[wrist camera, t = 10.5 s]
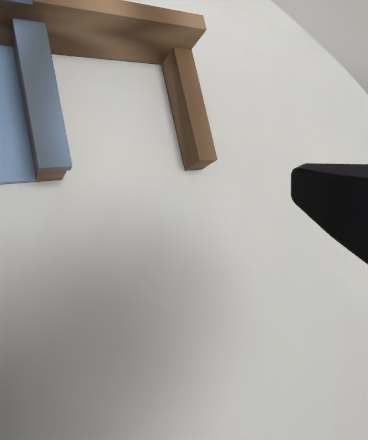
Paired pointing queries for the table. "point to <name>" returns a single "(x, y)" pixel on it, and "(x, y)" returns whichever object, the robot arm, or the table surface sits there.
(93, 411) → the table surface
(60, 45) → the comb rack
